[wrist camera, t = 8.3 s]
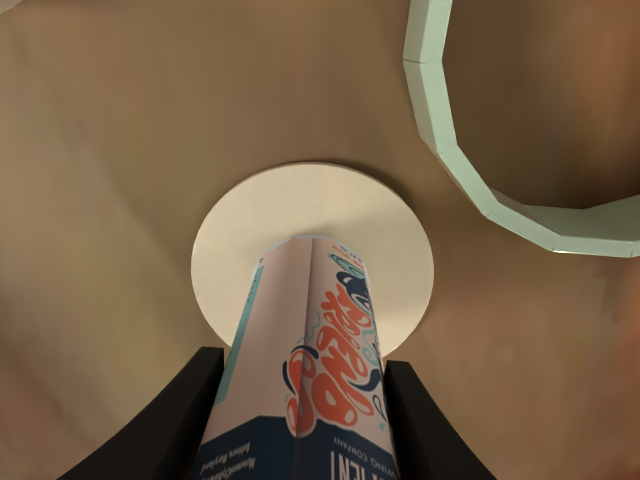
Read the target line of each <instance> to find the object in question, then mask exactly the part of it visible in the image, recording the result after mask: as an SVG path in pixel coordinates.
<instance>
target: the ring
mask: <svg viewBox="0 0 640 480" xmlns="http://www.w3.org/2000/svg"><path fill="white" fill-rule="evenodd" d="M452 1H453V0H411V3H410V10H409V16H408V23H407V30H406V37H405V43H404V50H403V57H402V58H403V66H404V71H405V75H406V80H407V84H408V89H409V93H410V98H411V102H412V106H413V111H414V115H415V120H416V124H417V129H418V133H419V135H420V137H421V139H422V140H423V141H424V143H425V144H426V145H427V147H428V148H429V149H430V151H431V152H432V153H433V155H434V156H435V157H436V159H437V160H438V161H439V163H440V164H441V166H442V167H443V168H444V170H445V171H446V172H447V174H448V175H449V176H450V178H451V179H452V180H453V182H454V183H455V184H456V186H457V187H458V188H459V189H460V190H461V191H462V193H463V194H464V195H465V196H466V197H467V198H468V199H469V200H470V201H471V202H472V203H473V205H474V206H475V207H476V208H477V209H478V210H479V211H480V212H481V213H482V214H483V215H484V216H485V217H486V218H487V219H489V220H491V221H493V222H495V223H497V224H499V225H501V226H503V227H505V228H506V229H508V230H510V231H512V232H514V233H516V234H518V235H520V236H522V237H524V238H526V239H528V240H529V241H531V242H533V243H535V244H537V245H539V246H541V247H543V248H545V249H547V250H549V251H553V252H565V253H578V254H590V255H603V256H615V257H635V256H639V255H640V194H639V195H635V196H632V197H628V198H624V199H621V200H617V201H613V202H610V203H606V204H602V205H599V206H595V207H591V208H588V209H584V210H582V209H570V208H558V207H546V206H534V205H522V204H521V203H519V202H517V201H515V200H513V199H511V198H510V197H508V196H506V195H504V194H502V193H500V192H498V191H497V190H495V189H493V188H491V187H489V186H487V185H486V184H485V182H484V181H483V179H482V178H481V177H480V175H479V174H478V172H477V171H476V170H475V168H474V167H473V165H472V164H471V163H470V161H469V160H468V159H467V157H466V156H465V154H464V153H463V152H462V150H461V149H460V147H459V146H458V145H457V140H456V135H455V129H454V124H453V119H452V114H451V108H450V103H449V98H448V92H447V87H446V82H445V77H444V71H443V66H442V61H441V60H442V55H443V49H444V44H445V39H446V33H447V28H448V22H449V17H450V12H451V6H452Z"/></svg>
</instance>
